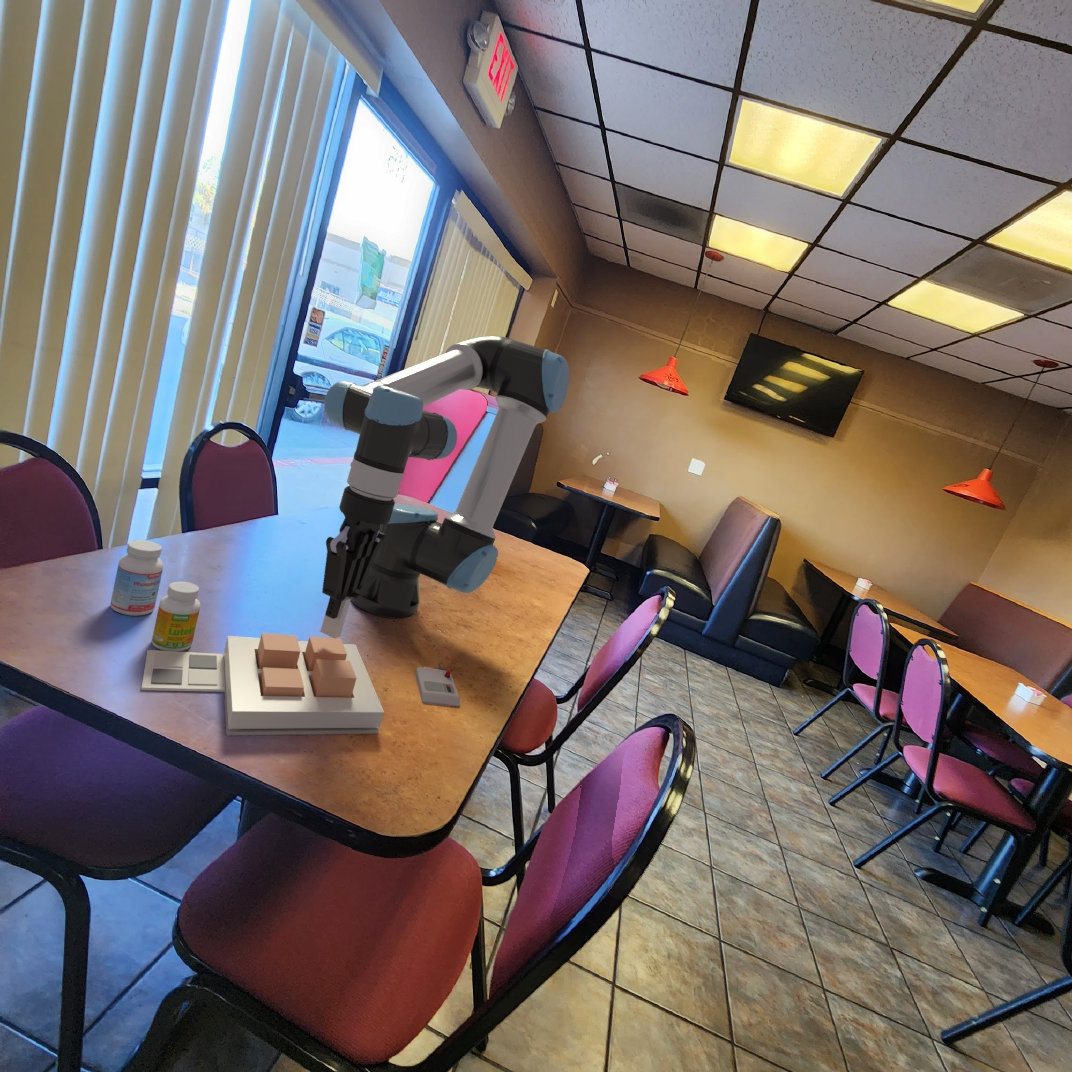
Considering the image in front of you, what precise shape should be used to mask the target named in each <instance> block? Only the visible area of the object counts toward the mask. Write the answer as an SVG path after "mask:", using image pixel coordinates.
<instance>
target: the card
mask: <svg viewBox="0 0 1072 1072" xmlns="http://www.w3.org/2000/svg"><path fill="white" fill-rule="evenodd" d="M223 654H224V653H215V652H214V653H210V652H209V653H208V652H196V651H195V652H193V651H192V652H191V651H178V652H177V651H164V650H159V649H158V650H157V649H156V650H155V649H147V652H146V656H145V657H146V658H145V663H144V670H143V677H142V681H141V688H140V690H141V691H160V692H161V691H162V692H163V691H164V692H165V691H166V692H170V691H171V692H202V693H203V692H209V693H210V692H212V693H216V692H217V693H225V677H224V656H223Z"/></svg>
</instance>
